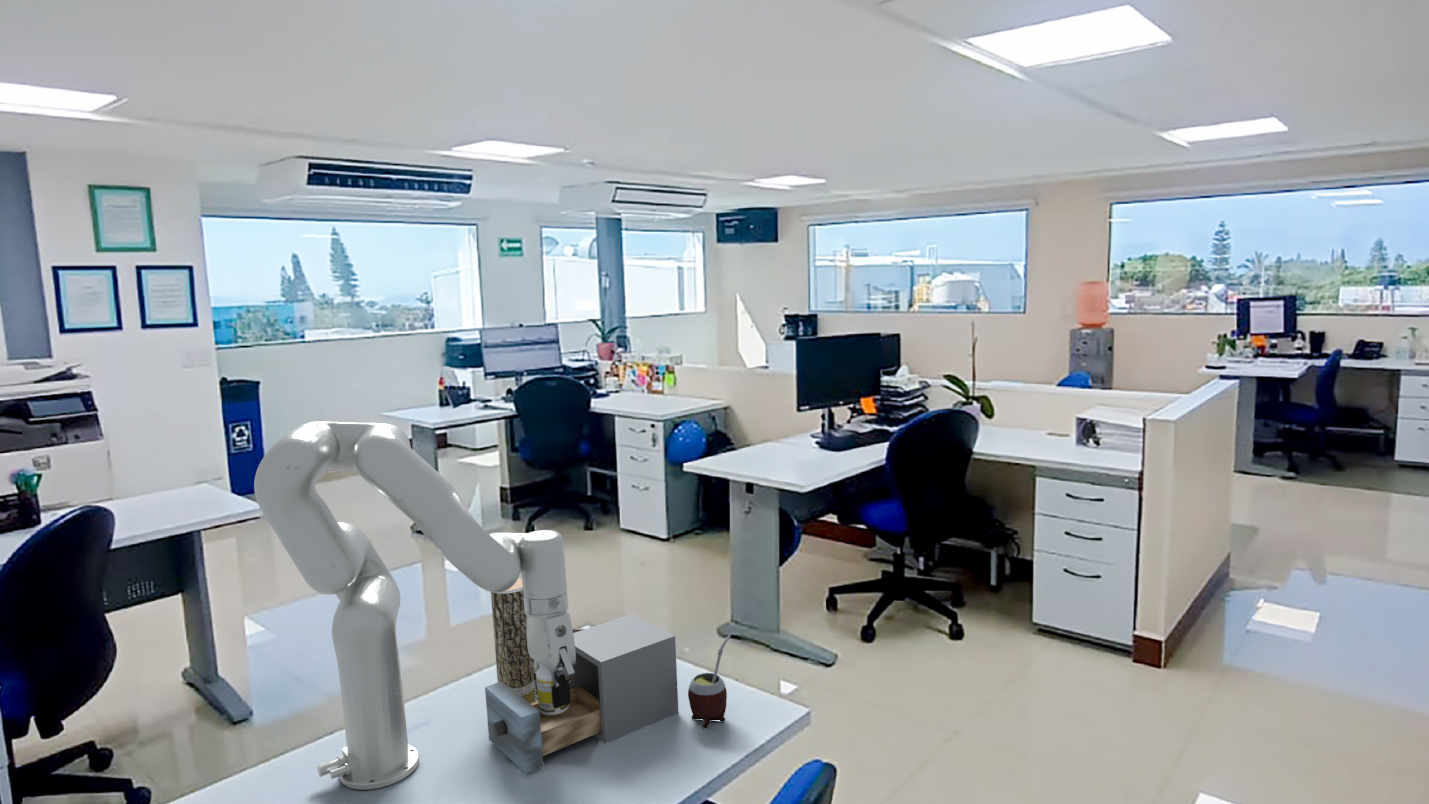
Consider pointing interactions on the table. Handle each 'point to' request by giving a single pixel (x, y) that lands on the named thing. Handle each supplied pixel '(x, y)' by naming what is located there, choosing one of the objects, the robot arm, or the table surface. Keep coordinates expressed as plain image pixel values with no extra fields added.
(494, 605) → the brown bark cylinder
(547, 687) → the supplement bottle
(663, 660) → the cabinet
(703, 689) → the mate gourd
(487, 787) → the table surface
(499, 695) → the drawer
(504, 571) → the robot arm
